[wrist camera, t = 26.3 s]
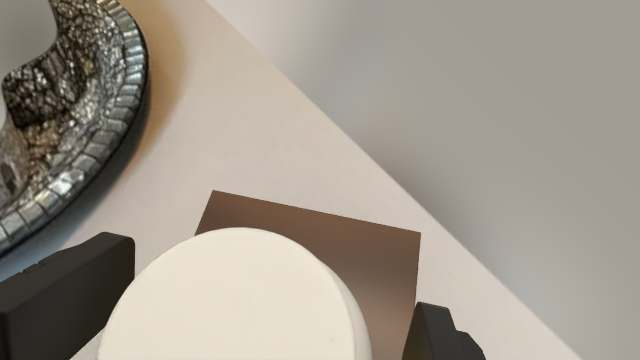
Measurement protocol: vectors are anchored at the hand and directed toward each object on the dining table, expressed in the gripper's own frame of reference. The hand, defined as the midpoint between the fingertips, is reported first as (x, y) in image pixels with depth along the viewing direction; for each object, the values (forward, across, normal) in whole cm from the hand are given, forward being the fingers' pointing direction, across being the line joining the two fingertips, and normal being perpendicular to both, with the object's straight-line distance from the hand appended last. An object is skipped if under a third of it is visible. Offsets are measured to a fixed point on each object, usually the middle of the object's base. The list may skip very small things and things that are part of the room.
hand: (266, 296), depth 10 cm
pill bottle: (+5, 0, +7) cm, 8 cm away
